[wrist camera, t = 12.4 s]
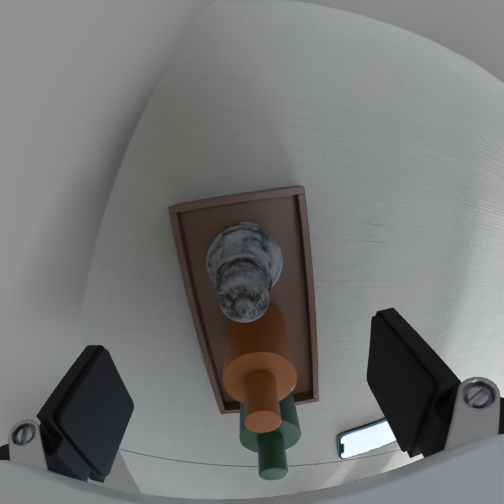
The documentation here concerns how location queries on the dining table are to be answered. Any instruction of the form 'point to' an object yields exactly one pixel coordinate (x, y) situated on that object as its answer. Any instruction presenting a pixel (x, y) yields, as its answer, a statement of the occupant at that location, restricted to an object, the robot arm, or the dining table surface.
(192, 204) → the tray
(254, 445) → the dark green bottle
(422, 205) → the dining table surface
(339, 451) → the smartphone
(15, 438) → the robot arm
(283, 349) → the amber bottle
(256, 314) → the salt shaker
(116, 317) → the dining table surface
